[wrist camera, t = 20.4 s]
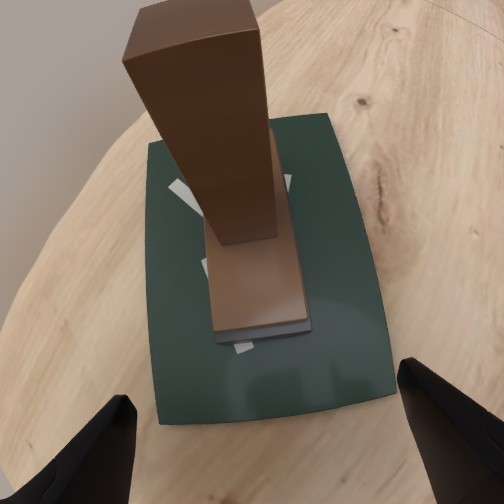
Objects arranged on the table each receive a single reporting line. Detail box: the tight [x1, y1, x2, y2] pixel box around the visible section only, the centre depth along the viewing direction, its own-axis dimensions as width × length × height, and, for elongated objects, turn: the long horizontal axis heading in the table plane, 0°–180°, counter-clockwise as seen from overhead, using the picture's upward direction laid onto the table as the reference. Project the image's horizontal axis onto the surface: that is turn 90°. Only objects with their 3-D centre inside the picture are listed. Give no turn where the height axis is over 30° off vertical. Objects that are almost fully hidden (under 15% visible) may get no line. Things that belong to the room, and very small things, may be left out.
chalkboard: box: [145, 113, 397, 425], centre depth 19 cm, size 20×14×1 cm
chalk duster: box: [122, 0, 313, 345], centre depth 12 cm, size 12×5×14 cm, turn 7°
